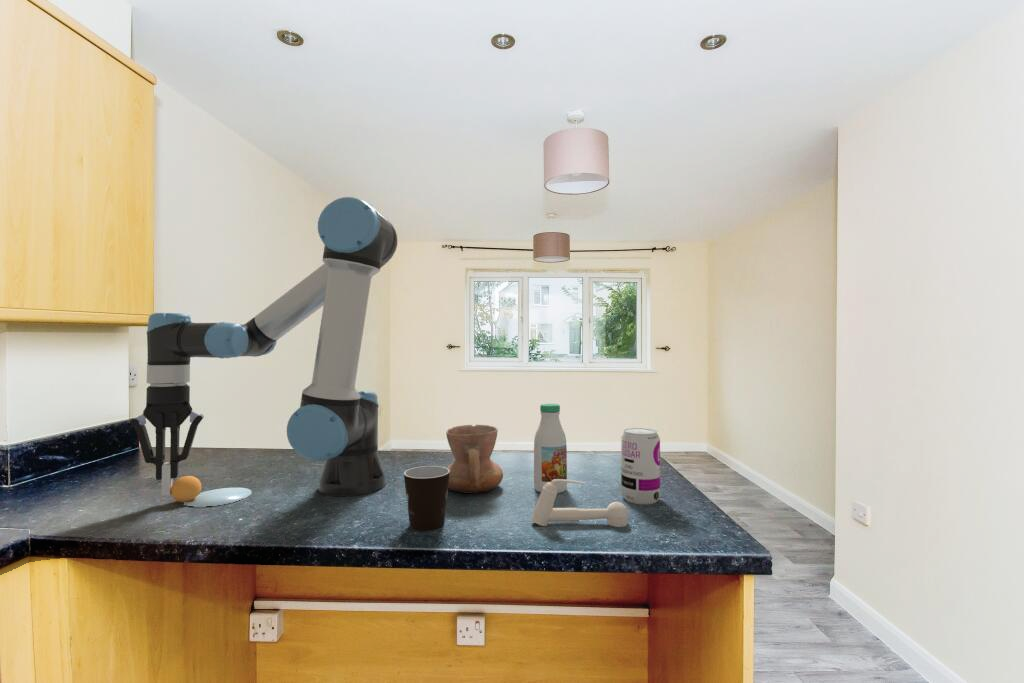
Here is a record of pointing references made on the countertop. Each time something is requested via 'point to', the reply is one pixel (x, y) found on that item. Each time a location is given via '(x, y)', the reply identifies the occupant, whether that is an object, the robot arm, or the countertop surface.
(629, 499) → the supplement can
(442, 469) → the brown cup
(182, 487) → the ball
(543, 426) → the milk bottle
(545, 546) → the countertop surface
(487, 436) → the ceramic jug
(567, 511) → the faucet
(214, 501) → the disc
